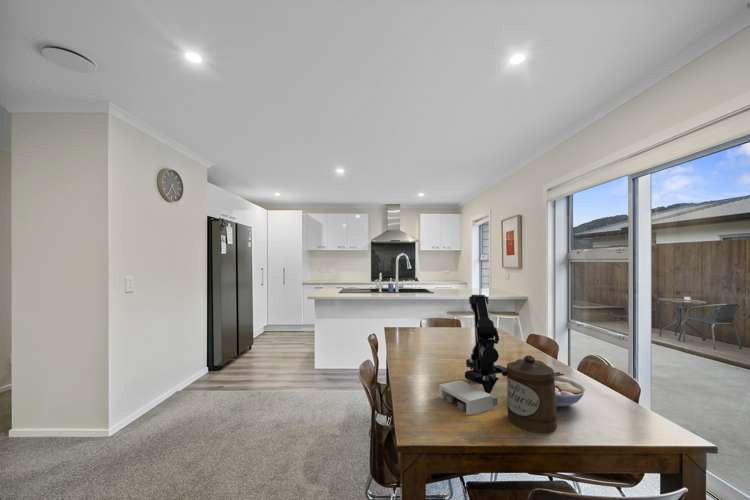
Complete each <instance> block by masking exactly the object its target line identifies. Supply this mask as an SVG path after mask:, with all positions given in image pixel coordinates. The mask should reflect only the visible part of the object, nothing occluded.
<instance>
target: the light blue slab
mask: <svg viewBox="0 0 750 500" xmlns="http://www.w3.org/2000/svg"><path fill="white" fill-rule="evenodd" d="M474 387H475V388H478V387H476V386H474ZM478 389H480V388H478ZM480 390H482V391H484V389H480ZM484 392H485V391H484ZM486 393H487V392H486ZM488 394H489V393H488ZM490 395H492V405H493V406H497V405H498V404H499V403H498V402H499V401H498V399H499V398H498V397H497V396H496V395H493V394H491V393H490Z"/></svg>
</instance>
